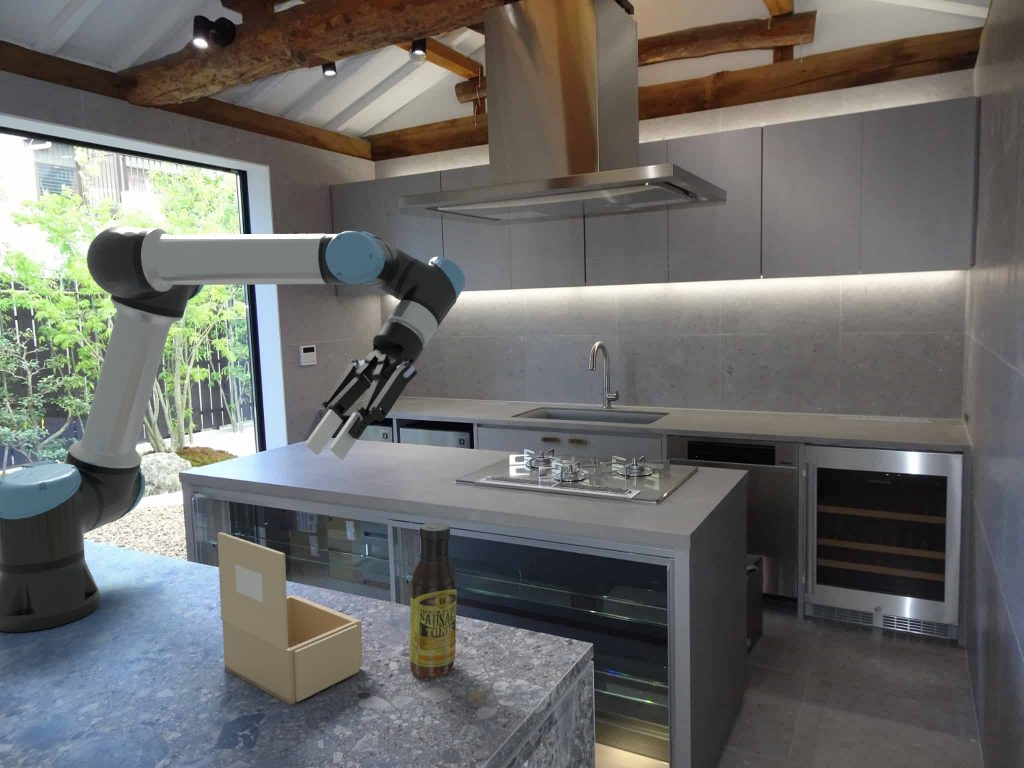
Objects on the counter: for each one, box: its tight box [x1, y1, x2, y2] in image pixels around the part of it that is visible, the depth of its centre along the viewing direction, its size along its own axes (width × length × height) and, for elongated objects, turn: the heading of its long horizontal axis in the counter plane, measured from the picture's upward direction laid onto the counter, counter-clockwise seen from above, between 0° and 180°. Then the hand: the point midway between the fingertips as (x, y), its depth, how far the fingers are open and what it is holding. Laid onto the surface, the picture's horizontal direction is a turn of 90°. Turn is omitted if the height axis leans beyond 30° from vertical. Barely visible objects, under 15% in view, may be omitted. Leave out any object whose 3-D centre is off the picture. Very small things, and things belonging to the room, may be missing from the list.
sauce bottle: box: [408, 522, 458, 679], centre depth 97 cm, size 7×6×20 cm
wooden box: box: [222, 594, 363, 707], centre depth 98 cm, size 16×12×7 cm
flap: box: [216, 531, 288, 650], centre depth 92 cm, size 14×1×12 cm, turn 52°
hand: (323, 451), depth 105 cm, fingers open, 5 cm apart
